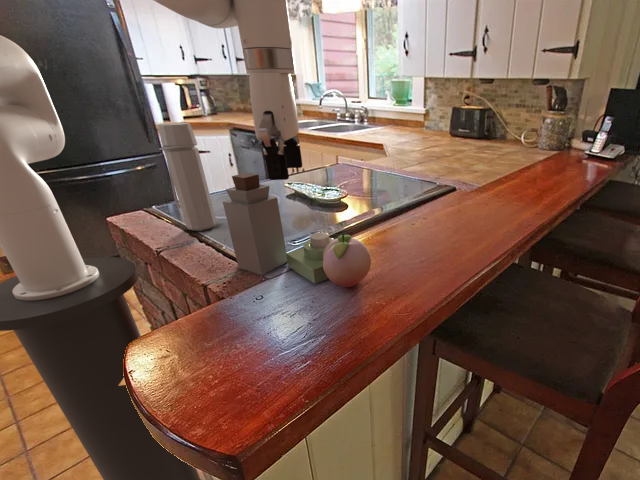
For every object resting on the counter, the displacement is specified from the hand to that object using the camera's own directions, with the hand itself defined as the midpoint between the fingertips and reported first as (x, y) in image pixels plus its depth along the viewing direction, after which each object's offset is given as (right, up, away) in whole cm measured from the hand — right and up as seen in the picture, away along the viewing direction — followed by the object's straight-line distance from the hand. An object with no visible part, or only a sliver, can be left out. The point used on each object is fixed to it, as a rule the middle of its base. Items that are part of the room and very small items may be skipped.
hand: (287, 173), depth 65 cm
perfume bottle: (-8, -16, +9) cm, 20 cm away
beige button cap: (+5, -13, +5) cm, 15 cm away
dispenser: (+5, -17, +7) cm, 19 cm away
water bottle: (-32, -7, +29) cm, 44 cm away
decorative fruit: (+11, -20, 0) cm, 23 cm away
